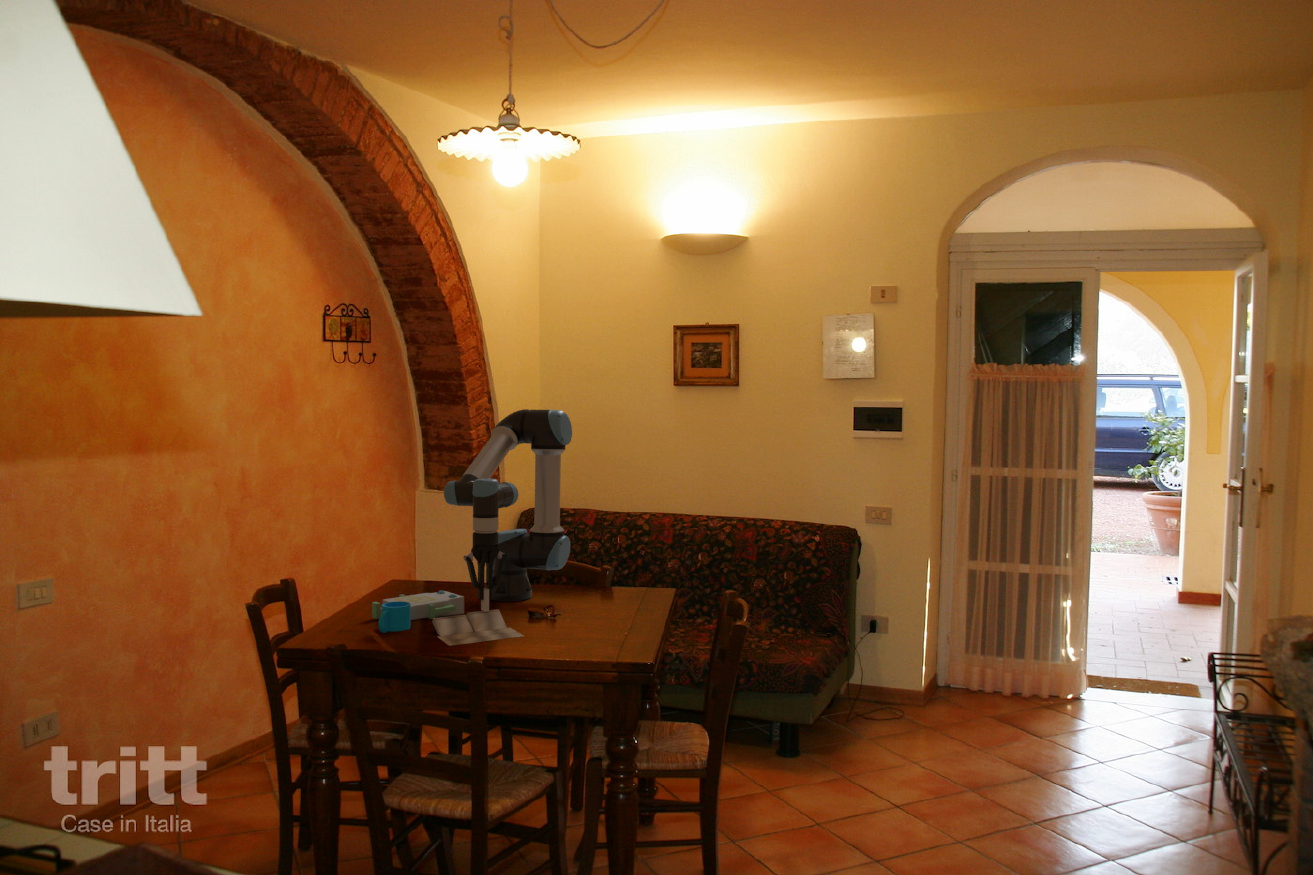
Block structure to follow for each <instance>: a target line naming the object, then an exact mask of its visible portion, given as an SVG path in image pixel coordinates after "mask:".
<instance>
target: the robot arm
mask: <svg viewBox="0 0 1313 875" xmlns="http://www.w3.org/2000/svg"><path fill="white" fill-rule="evenodd" d="M570 419H571V418H570V417H569V415H568V414H567V413H566V412H565V411H563V410H560V409H559V410H558V409H526V408H525V409H524V408H523V409H519V410H517V411H514V412H511V413H510V414H509V415H507V416H505V417H504V418H503V419H501V420H500V421H499V422H498V423H497V424H496V425H495V427H493V429H492V430H491V433H490V438H489V439H488V441H487V442H486V443H485V445H484V446H483V447H482V449H481V450H480V452H478V454H477V455H476V457H475V458H474V460H473V461H472V462H471V464H470V465H469V466H468V467H467V469H466V470H465V472H464V473H463V474H462V476H461V477H460V478H459V480H450V481H448V482H447V483H446V484H445V486H444V489H443V497H444V501H445V503H447V504H448V505H451V506H457V507H472V530H473V533H472V547H471V550H470V553H468V554H467V555H466V554H465V555H463V560H464V561H465V563H466V564H467V569H468V574H469V579H470V582H471V586H472V587H473V588H475V589H477V590H478V591H477V598H478V600H479V601H480V610H481V611H484V612H486V611H489V610H490V600H491V601H496V602H518V601H519V602H520V601H526V600H528V599H531V598H532V596H533V591H532V586H531V583H530V581H529V577H528V572H527V571H528V570H527V569H536V570H546V571H558V570H562V569H563V568H564V566H566V564H567V561H568V559H569V557H570V552H571V541H570V538H569V536H567V535H565V529H564V528H563V527H562V526H561V471H562V470H561V461H562V460H561V459H562V458H561V457H562V456H561V455H562V454H563V453H564V452H565V451H566V446H568V445H569V444H570V443H571V442H572V438H573V427H572V426H573V425H572V423H571V420H570ZM522 444H523V445H524V444H530V450H531V451H532V453H534V455H535V456H534V460H535V461H534V462H535V463H534V522H533V523H534V524H533V526H531V528H530V529H529V533H528V530H527V529H526V528H516V529H515V528H514V529H507V530H501V531H499V532H498V530H499V528H500V527H499V509H503V508H508V507H511V506H513V505H514V504H515V503H516V502H517V501H518V499H519V490H518V488H517V487H516V485H515V484H514V483H512V482H506V481H505V482H504V481H503V482H499V480H498V479H497V478H492V476H493V475H494V473H495V472H496V471H497V469H498V468H499V466H500V465H501V464H502V462H503V461H504V460H505V458H506V456H507V455H508V453H509V452H510V451H513V450H514V449H516V448H517V446H518V445H522ZM474 559H475V560H476V563H477V573H476V568H475V564H474V562H473V561H474ZM485 586H486V587H485Z"/></svg>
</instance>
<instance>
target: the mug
mask: <svg viewBox="0 0 1313 875" xmlns="http://www.w3.org/2000/svg"><path fill="white" fill-rule="evenodd" d="M381 607H382V615H381V616H380V618H379V619H378V629H379V631H380V632H381V633H383V634H385V633H388V632H402V631H407V630H410V629H411V627H412V626H411V625H412V624H411V623H412V622H411V621H412V620H411V604H410V603H409V602H402V601H396V602H388V603H384V604H383V603H382V604H381Z"/></svg>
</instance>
